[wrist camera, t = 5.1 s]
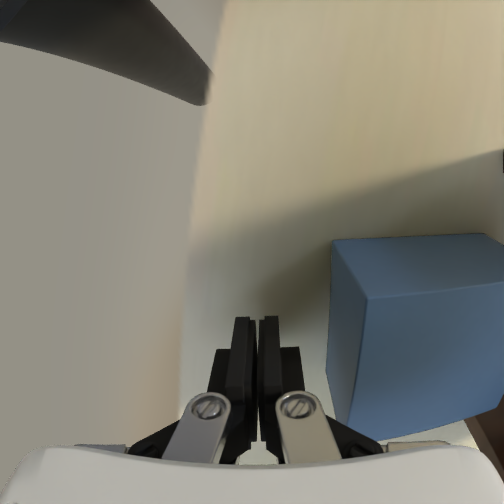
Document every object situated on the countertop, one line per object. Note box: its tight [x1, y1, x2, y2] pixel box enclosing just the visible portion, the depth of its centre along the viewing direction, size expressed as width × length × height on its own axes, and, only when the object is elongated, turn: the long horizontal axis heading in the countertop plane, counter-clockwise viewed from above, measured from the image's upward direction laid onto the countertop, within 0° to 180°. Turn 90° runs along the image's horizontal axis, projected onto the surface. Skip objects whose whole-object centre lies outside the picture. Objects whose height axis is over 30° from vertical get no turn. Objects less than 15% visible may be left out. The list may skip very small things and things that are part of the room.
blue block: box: [326, 233, 504, 441], centre depth 12 cm, size 8×7×5 cm
